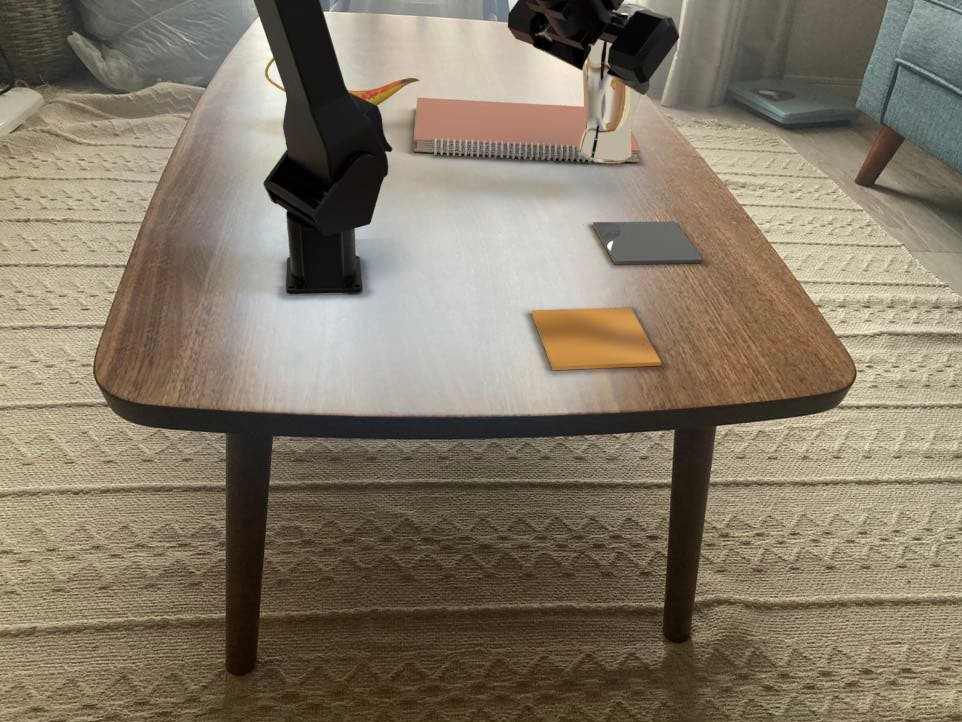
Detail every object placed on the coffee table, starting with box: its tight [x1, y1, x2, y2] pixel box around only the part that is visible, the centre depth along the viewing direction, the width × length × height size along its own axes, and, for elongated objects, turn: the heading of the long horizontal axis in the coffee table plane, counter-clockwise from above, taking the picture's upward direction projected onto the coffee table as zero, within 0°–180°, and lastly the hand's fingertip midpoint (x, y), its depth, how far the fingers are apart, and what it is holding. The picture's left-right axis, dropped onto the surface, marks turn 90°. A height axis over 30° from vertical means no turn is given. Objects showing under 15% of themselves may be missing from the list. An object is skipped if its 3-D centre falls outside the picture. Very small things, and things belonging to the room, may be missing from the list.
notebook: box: [412, 97, 641, 165], centre depth 117 cm, size 27×17×2 cm, turn 95°
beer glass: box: [576, 1, 656, 164], centre depth 97 cm, size 7×7×15 cm
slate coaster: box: [592, 221, 703, 266], centre depth 95 cm, size 9×9×1 cm
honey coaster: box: [531, 306, 662, 371], centre depth 78 cm, size 9×9×1 cm
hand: (621, 81), depth 98 cm, fingers closed on beer glass, 7 cm apart
